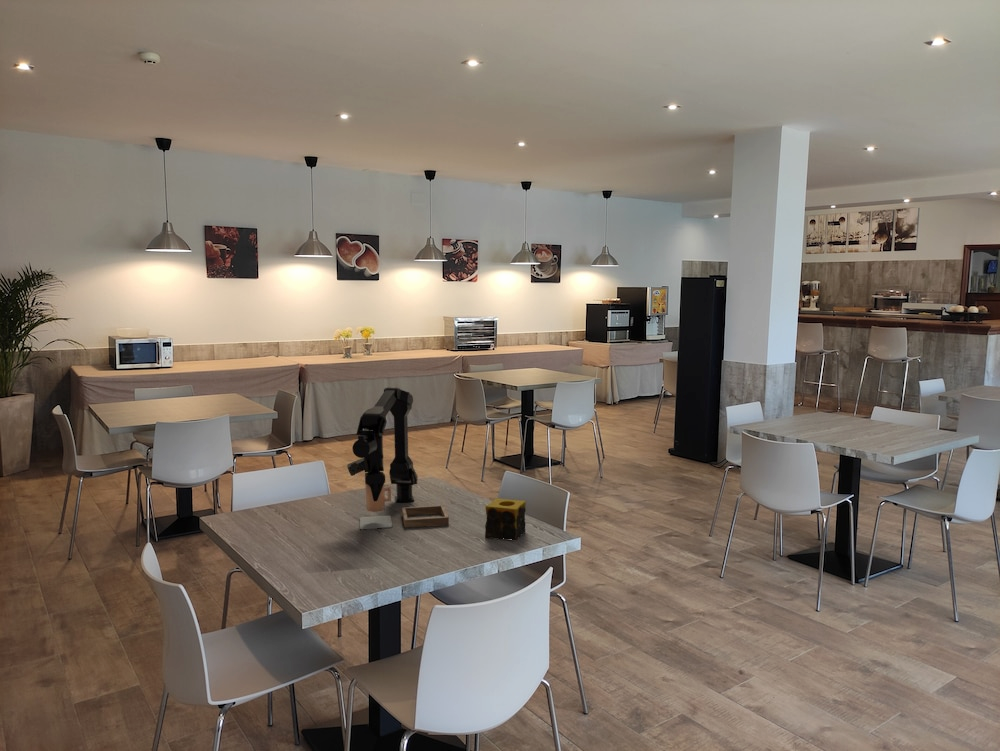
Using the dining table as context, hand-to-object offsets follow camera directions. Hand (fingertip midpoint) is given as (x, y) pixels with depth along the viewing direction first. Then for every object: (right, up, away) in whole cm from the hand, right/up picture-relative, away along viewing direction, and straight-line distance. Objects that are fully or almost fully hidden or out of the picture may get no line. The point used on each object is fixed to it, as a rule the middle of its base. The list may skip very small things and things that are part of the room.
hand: (375, 498), depth 234 cm
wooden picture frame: (+16, -8, +4) cm, 18 cm away
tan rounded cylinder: (0, -4, 0) cm, 4 cm away
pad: (0, -8, +1) cm, 8 cm away
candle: (+42, -10, -11) cm, 45 cm away
